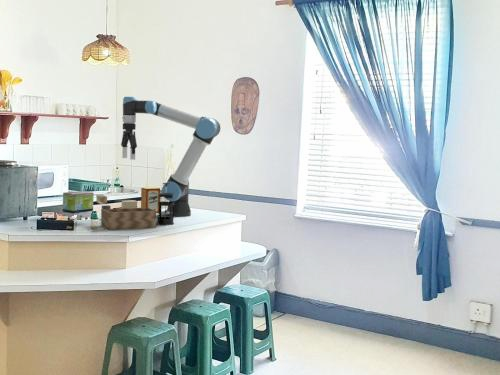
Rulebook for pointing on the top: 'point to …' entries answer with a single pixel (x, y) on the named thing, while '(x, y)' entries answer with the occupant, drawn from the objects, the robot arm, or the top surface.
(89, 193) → the tea box
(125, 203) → the lid
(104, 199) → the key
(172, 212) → the french press
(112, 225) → the brown woven basket
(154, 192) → the baking soda box
